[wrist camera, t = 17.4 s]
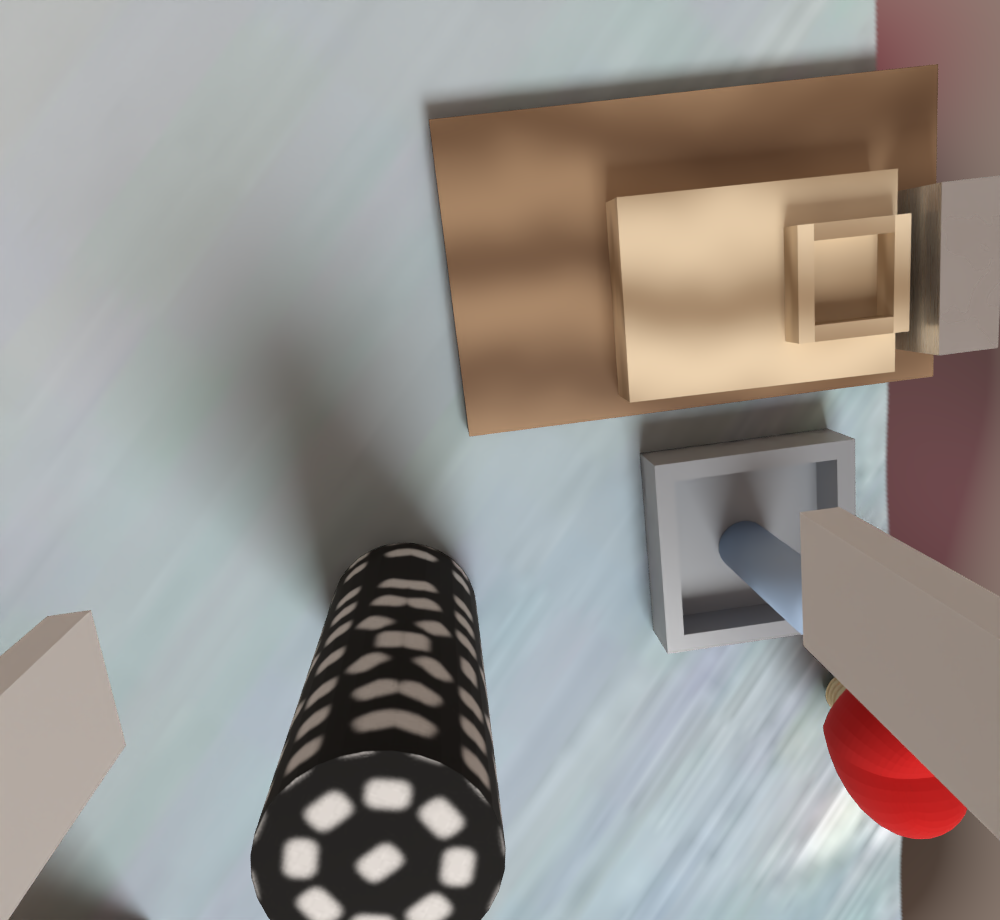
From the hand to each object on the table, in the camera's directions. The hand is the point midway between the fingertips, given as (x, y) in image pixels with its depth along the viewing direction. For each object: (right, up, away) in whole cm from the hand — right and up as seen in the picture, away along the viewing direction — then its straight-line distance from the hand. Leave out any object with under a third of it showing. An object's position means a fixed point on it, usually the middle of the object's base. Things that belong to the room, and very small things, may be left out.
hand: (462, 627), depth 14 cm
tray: (+15, -1, +31) cm, 34 cm away
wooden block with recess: (+14, +12, +27) cm, 32 cm away
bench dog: (+23, +13, +27) cm, 38 cm away
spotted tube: (-5, -6, +31) cm, 32 cm away
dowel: (+15, -2, +31) cm, 34 cm away
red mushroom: (+22, -11, +34) cm, 42 cm away
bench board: (+11, +14, +27) cm, 32 cm away
